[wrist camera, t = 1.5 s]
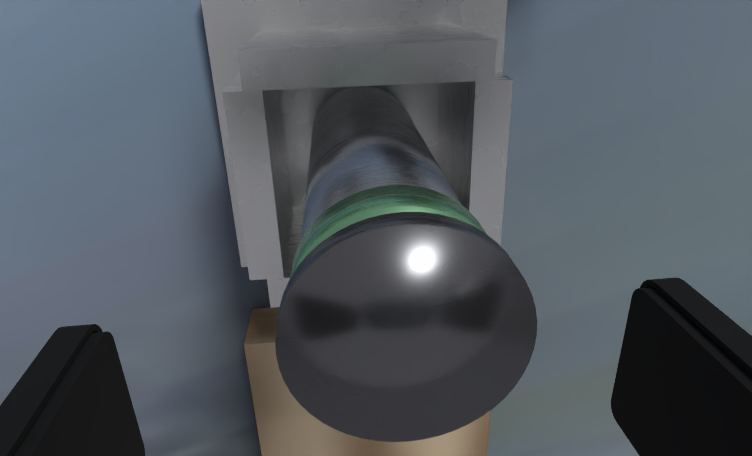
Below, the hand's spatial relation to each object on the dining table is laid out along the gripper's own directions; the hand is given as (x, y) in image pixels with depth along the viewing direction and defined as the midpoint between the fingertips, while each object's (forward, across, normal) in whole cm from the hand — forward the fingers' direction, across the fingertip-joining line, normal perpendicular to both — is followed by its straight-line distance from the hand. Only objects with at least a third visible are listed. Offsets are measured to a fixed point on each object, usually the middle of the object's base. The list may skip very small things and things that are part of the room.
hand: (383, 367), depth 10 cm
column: (+15, -1, 0) cm, 15 cm away
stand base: (+16, -1, 0) cm, 16 cm away
